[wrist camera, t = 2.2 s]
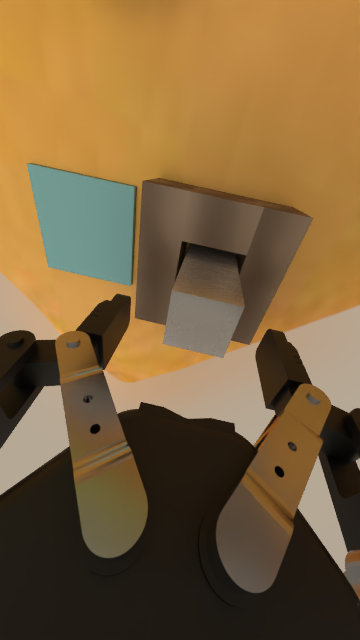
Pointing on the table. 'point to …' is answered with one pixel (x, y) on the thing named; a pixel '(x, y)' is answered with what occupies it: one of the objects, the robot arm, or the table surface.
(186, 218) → the socket block
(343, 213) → the table surface
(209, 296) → the steel peg
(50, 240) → the pad
